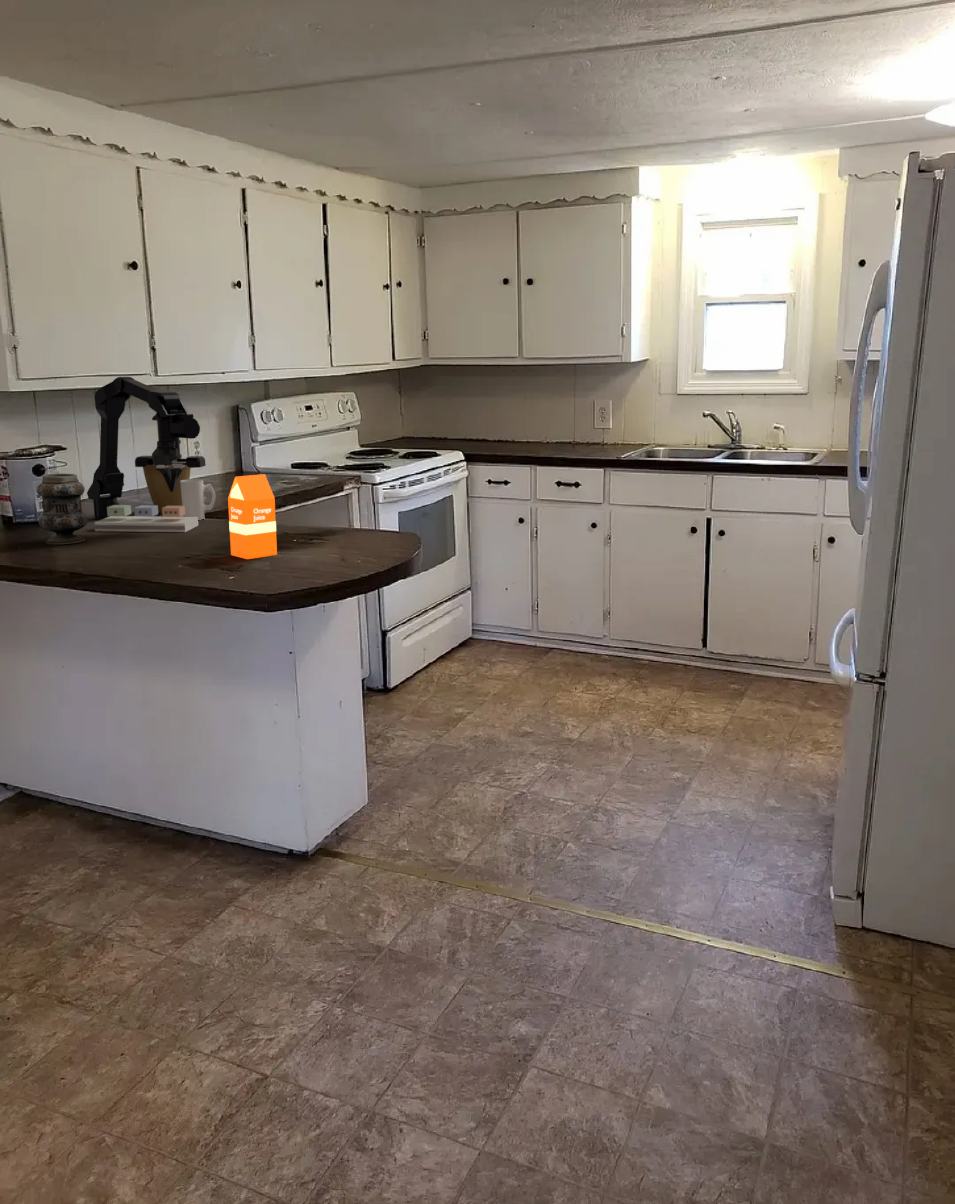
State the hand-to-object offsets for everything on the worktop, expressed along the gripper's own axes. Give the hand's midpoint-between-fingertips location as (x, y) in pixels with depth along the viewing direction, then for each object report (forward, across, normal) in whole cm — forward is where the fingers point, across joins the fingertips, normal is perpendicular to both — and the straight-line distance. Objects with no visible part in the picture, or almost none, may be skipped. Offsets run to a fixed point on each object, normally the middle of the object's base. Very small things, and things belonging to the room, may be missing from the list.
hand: (172, 491), depth 282 cm
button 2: (+7, -8, 0) cm, 11 cm away
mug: (+11, +2, +17) cm, 20 cm away
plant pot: (+11, -12, +31) cm, 35 cm away
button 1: (+7, -16, 0) cm, 17 cm away
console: (+11, -8, 0) cm, 13 cm away
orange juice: (+11, +33, -38) cm, 52 cm away
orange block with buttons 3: (+7, 0, 0) cm, 7 cm away
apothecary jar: (+11, -22, -23) cm, 34 cm away
